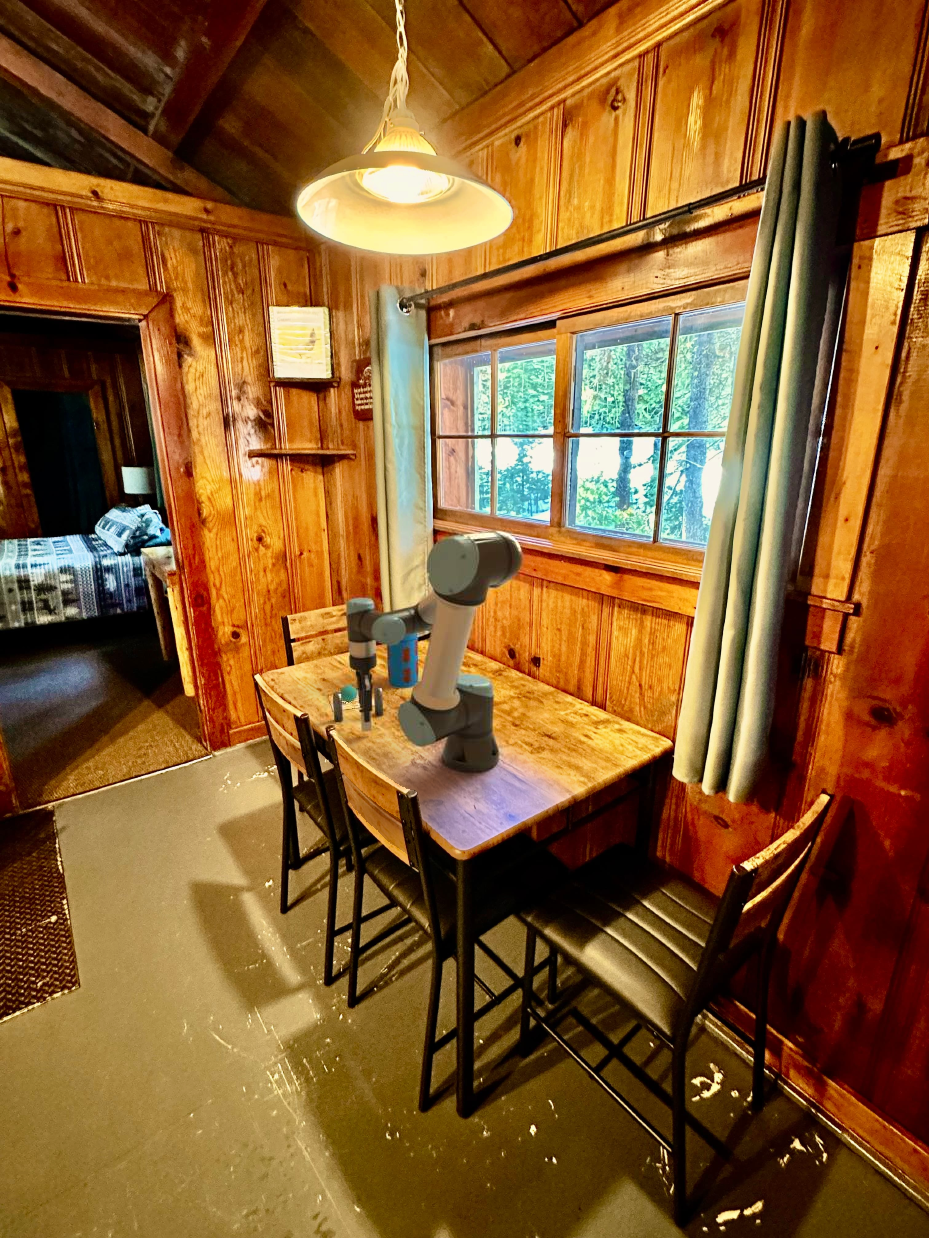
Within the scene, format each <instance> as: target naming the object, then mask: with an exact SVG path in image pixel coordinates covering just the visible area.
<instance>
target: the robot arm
mask: <svg viewBox="0 0 929 1238" xmlns="http://www.w3.org/2000/svg"><path fill="white" fill-rule="evenodd" d="M523 559H524V557H523V551H522V548H521V545H520V544H519V541H517V540H516V539H515V537H514V536H512V535H511V534H510V533H507V532H504V531H502V530H489V531H482V532H475V533H467V534H461V533H460V534H454V535H451V536H449V537H448V536H447V537H444V538H442V539H440V540H438V541H437V542H436V543H435V544H434V545H433V546H432V548H431V550H430V551H429V553H428V556H427V560H426V573H427V574H428V577H427V579H428V582H429V584H430V585H431V587H432V592H430V593H429V594H428V595H426V596H425V597H424V598H422V599H421V600H420V601H419V602H417V603H416V604H415V605H411V606H408V607H404V608H399V609H394V610H391V611H390V610H389V611H386V612H385V611H384V612H381V611H379V610H376V609H375V608H376V606H375V604H374V603H375V602H374V601H373V599H371V598H370V597H355V598H352V599H351V598H350V599H349V600H347V602H346V607H345V608H346V613H345V617H346V618H345V619H346V629H347V640H348V642H347V643H346V644H345V646H346V647H347V648H348V653H349V655H348V661H349V662H348V663H349V668H350V669H351V670H353V671H355V677H356V684H357V690H358V697H359V704H360V708H359V709H358V712H359V713H360V723H361V724H360V725H361V732H362V733H365V732H366V733H367V732H372V731H373V729H372V726H373V725H372V712H373V706H372V696H373V689H374V684H373V683H372V680H373V674H372V673H371V670H372V669H375V668H376V667H377V665H378V664H377V663H378V662H377V659H378V658H377V642H378V643H380V644H382V645H386V646H387V645H396V644H398V643H399V642H400V641H401V640H402V639H403V638H404V637H405V636H409V635H412V634H416V633H418V634H421V633H424V632H430V636H429V641H428V646H427V651H426V655H425V659H424V664H423V669H422V673H421V679H420V680H418V682H417V683H416V684H415V685H414V686H413V688H412V691H411V695H410V699H409V700H405V701H403V702H402V703H400V705H399V707H398V710H397V718H398V723H399V726H400V727H401V731H402V732H403V734H404V735H405V738H407V739H408V741H409V742H410V743H412V744H413V745H415V746H416V747H420V748H422V747H426V746H429V745H433V744H435V743H437V742H439V741H442V740H444V739H446V740H445V743H444V746H443V749H442V760H443V763H444V764H445V765H446V766H448V767H449V768H450V769H452V770H455V771H459V772H462V773H479V772H484V771H487V770H489V769H492V768H494V767H495V766H496V765H497V764H498V762H499V761H500V760H499V759H500V750H499V746H498V744H497V740H496V737H495V734H494V732H493V731H494V702H495V701H494V698H495V694H494V684H493V682H492V680H490V679H489V678H487V677H485V676H482V675H479V674H475V673H474V674H473V673H461V670H462V666H463V663H464V658H465V655H466V650H467V646H468V641H469V639H470V634H471V630H472V627H473V622H474V618H475V614H476V610H477V608H478V607H481V606H482V605H484V604H485V602H486V599H487V595H488V592H489V589H497V588H499V587H501V586H502V585H504V584H505V583H508V582H509V581H511V580H512V579H513V578H514V577H515V576H517V575H518V573H519V571H520V570H521V568H522V565H523V561H524V560H523Z"/></svg>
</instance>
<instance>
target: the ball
mask: <svg viewBox="0 0 929 1238" xmlns="http://www.w3.org/2000/svg"><path fill="white" fill-rule="evenodd" d="M357 690H358V689H356V687H354V686H353V685H351V684H348V685H345V686H343V687H342V688H341V689H340V692H341V698H342V699H343V700H344V701H346V702H351V701H353V700H355V698H356V697H357Z"/></svg>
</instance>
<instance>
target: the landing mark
mask: <svg viewBox="0 0 929 1238" xmlns="http://www.w3.org/2000/svg"><path fill="white" fill-rule="evenodd" d="M356 690H357V693H358V689H356ZM329 697H330V696H329ZM329 697H328V698H329ZM357 697H358V694H357ZM372 697H373V698H372V707H374V706H373V705H374V695H372ZM356 699H357V700H356ZM356 699H355V700H353V701H359V698H356ZM330 701H333V700H329V703H330V707H331V709H332V712H333V713H334V709H333V702H330ZM342 701H344V700H343V699H342ZM348 703H349V702H348ZM351 703H352V702H351ZM342 705H348V704H346V702H345V703H344V702H342ZM349 705H350V704H349ZM352 705H353V704H352ZM354 705H358V706H355V708H356V709H361V708H360V706H359V705H360V704H359V703H357V702H356V704H354ZM353 708H354V707H353ZM345 709H349V710H353V709H352V708H349V707H347V706H344V707H343V706H342V711H346V710H345Z"/></svg>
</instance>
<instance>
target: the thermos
mask: <svg viewBox="0 0 929 1238" xmlns="http://www.w3.org/2000/svg"><path fill="white" fill-rule="evenodd" d="M418 634H419V633H416V634H412V635H409V636H405V637H404V638H403V639H402V640H401V641H400V642H399V643H398V644H396V645H387V644H386V654H387V655H386V657H387V658H386V659H387V660H386V661H387V677H388V684H390V685H389V686H390V687H392V686H393V687H392V688H395V687H397V688H396V689H408V688H412V687H414V685H415V684H416V683H417V682H419V644H418V643H419V641H418V640H419V637H418V636H419V635H418Z"/></svg>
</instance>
